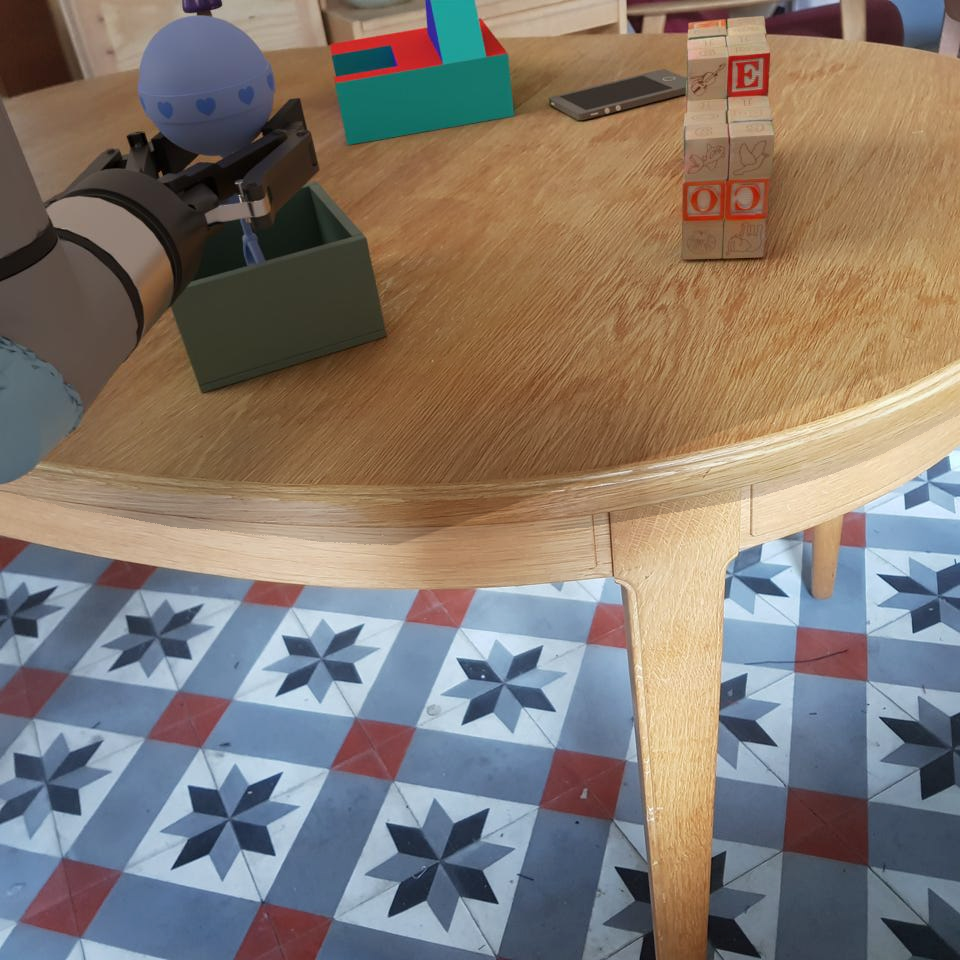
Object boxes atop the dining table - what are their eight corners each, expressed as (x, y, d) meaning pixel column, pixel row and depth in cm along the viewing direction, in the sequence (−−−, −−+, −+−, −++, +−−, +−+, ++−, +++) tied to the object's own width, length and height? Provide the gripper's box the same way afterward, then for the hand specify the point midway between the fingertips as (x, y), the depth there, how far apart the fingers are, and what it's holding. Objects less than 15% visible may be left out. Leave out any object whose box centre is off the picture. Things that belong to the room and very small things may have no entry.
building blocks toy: (480, 63, 126) (461, -96, 115) (514, 115, 106) (495, -71, 95) (339, 87, 125) (307, -71, 114) (347, 145, 105) (309, -40, 94)
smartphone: (579, 121, 101) (578, 114, 100) (547, 104, 107) (546, 97, 107) (701, 89, 104) (701, 83, 104) (663, 74, 110) (663, 68, 110)
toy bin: (174, 316, 75) (142, 225, 71) (336, 269, 79) (316, 180, 74) (201, 393, 65) (165, 293, 60) (387, 336, 68) (366, 237, 64)
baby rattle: (339, 283, 68) (275, 9, 57) (224, 322, 65) (134, 43, 54) (297, 247, 74) (232, -5, 63) (191, 282, 71) (104, 24, 61)
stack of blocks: (766, 260, 70) (777, 88, 63) (680, 262, 72) (681, 94, 64) (757, 158, 87) (765, 12, 79) (687, 162, 88) (688, 18, 81)
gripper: (-29, 335, 54) (137, 185, 71) (306, 316, 50) (392, 163, 68) (-94, 207, 49) (101, 81, 67) (269, 177, 46) (372, 52, 63)
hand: (247, 123), depth 67 cm, fingers closed on baby rattle, 7 cm apart
